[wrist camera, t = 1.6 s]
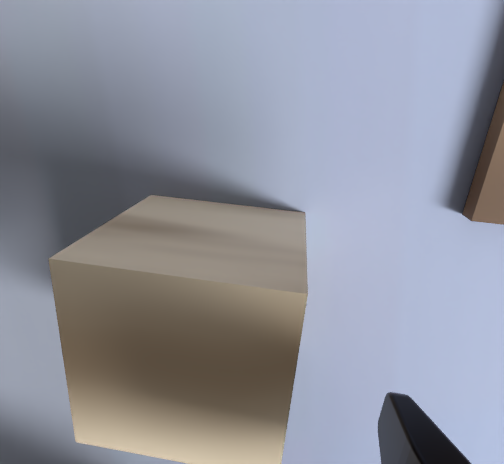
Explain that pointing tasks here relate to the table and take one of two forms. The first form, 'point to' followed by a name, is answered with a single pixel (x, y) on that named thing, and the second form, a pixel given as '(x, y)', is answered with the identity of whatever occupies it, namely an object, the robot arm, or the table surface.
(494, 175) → the walnut board
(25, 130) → the table surface
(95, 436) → the maple cube
